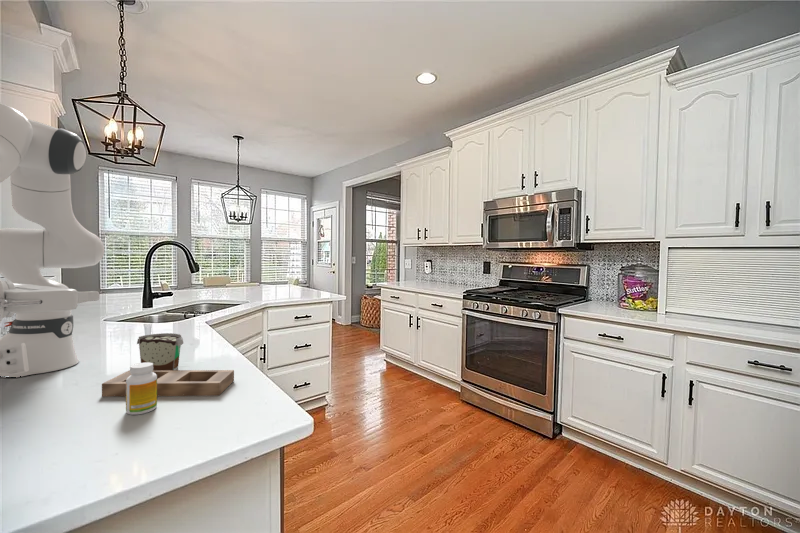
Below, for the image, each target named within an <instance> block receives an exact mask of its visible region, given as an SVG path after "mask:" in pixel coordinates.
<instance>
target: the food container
mask: <svg viewBox="0 0 800 533" xmlns="http://www.w3.org/2000/svg"><path fill="white" fill-rule="evenodd" d="M183 344H184V339H183V337H182V335H181V334H179V333H171V332H169V333H168V332H166V333H162V332H161V333H152V334H145V335H140V336H138V338H137V342H136V345H138V346H139V347H138V348H139V359H140V363H145V362H150V363H153V370H179V365H180V364H179V362H180V355H181V354H180V353H181V347H182V345H183Z"/></svg>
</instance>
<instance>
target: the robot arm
mask: <svg viewBox="0 0 800 533" xmlns="http://www.w3.org/2000/svg"><path fill="white" fill-rule="evenodd" d="M86 158H87V150H86V146H85V142H84V141H83V139H81V137H80V136H79V135H78V134H76V133H74V132H72V131H69V130H67V129H64V128H62V127H61V128H58V127H54V126H53V125H50V124H46V123H44V122H43V123H42V122H39V121H38V120H37V121H36V120H32V119H30V118H27V117H26V116H25V115H24V114H23V113H22V112H20V111H19V110H17V109H15V108H14V107H12V106H10V105H8V104H5V103H2V102H0V184H2V183H3V182H5V180H6V179H8V178H10V179H9V180H10V192H11V206H12V208H13V210H14V212H16V213H17V214H18V215H19V216H21V217H22V218H23V219H25V220H27V221H30V222H32V223H35V224H37V225H38V226H39V225H40V226H41V227H43V228H44V229H42V228H26V227H25V228H24V227H3V228H2V227H0V275H1V276H2V277H3V278H4V279H5V280H2V278H0V324H1V323H2V321H3V319H5V318H12V317H13V316H14V315H15V318H14V319H13V320H12V321H7V322H4V323H3V324H5V325H4V327H5V328H6V327H10V328H9V329H8V331H7V332H8V333H6V334H5V335H3V336H1V337H0V376H9V377H16V378H20V376H21V377H25V376H29V375H31V376H32V375H35V374H36V375H37V374H43V373H44V374H45V373H49V372H55V371H58V370H64V369H67V368H70V367H72V366H73V367H74V366H75V365H77V364H79V362H80V361H79V360H80V359H79V358H78V355H77V353H76V349H75V345H74V344H75V343H74V338H73V330H74V314H73V315H72V311H73V310H76V309H77V308H78V304H83V303H86V302H96V301H99V300H100V292H99V291H96V290H91V291H90V290H89V291H78V290H77V289H75V288H69V286H68V285H66V284H64V283H61V282H59V281H56V280H54V279H49V278H47V277H45V276H43V274H42V273H41V270H43V269H79V268H87V267H93V266H96V265H97V264H99V263H100V262H101V260H102V259H103V257H104V255H105V246H104V242H103V241H102V239H101V238H100V237H99V236H98V235H96V234H95V233H93V232H91V231H89V230H88V229H86V228H85V227H84V226H83V225H82V224H81V223H80V222H79V221H78V219H77V218H76V216H75V214H74V210H73V205H72V204H73V203H72V190H71V189H72V186H71V185H72V184H71V175H74V174H75V173H77V172H80V171H81V170H82V169H83V167H84V164H85V162H86Z"/></svg>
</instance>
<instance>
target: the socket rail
mask: <svg viewBox="0 0 800 533" xmlns="http://www.w3.org/2000/svg"><path fill="white" fill-rule="evenodd" d="M152 372H154V373H155V374H156V375H157V397H186V396H187V397H188V396H189V397H190V396H191V397H193V396H194V397H196V396H197V397H199V396H200V397H201V396H206V397H207V396H210V397H211V396H212V397H213V396H221V394H223V392H225V390H227V388H229V387H230V386H231V385H232V384H233V383H234V382H235V370H234V369H206V370H205V369H202V370H200V369H195V370H194V369H193V370H192V369H191V370H190V369H187V370H186V369H185V370H183V369H180V370H179V369H178V370H153V371H152ZM130 375H132V374H131V373H130V369H128V370H127V371H125V372H122V373H121V374H119V375H117V376H114V377H113V378H110V379H108V380H107V381H104V382H103V383H101V397H103V398H104V397H107V398H108V397H126V379H127V378H128V377H129V376H130ZM233 381H234V382H233ZM232 382H233V383H232ZM231 383H232V384H231ZM230 384H231V385H230ZM229 385H230V386H229ZM228 386H229V387H228Z"/></svg>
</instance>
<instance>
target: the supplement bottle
mask: <svg viewBox="0 0 800 533" xmlns="http://www.w3.org/2000/svg"><path fill="white" fill-rule="evenodd" d="M129 370H130V373H131V374H132V375H130V376H129V377H128V378H127V379H126V396H125V412H126V414H127V415H132V416H134V415H137V416H138V415H143V414H147V413H150V412H152V411H154V410H155V409H156V408H157V407H158V396H157V375H156V374H155V373H154V372H152V371H153V363H150V362H145V363H141V362H139V363H134V364H132V365H130V367H129Z"/></svg>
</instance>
